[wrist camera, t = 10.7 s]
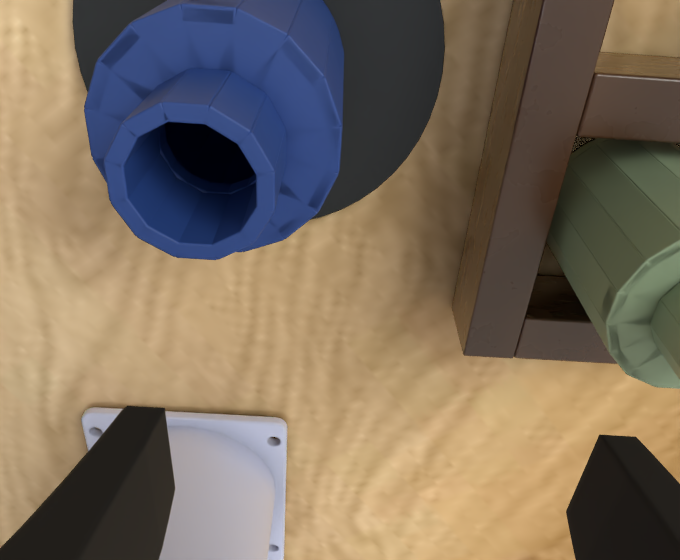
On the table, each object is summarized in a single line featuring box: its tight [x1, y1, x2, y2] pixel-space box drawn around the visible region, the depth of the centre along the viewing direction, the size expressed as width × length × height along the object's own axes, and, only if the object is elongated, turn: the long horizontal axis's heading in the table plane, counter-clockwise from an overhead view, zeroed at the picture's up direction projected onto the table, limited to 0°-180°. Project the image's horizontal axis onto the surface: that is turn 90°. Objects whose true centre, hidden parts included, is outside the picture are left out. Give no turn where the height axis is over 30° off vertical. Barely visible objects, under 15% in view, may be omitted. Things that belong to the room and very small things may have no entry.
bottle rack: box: [452, 0, 680, 364], centre depth 16 cm, size 9×16×3 cm, turn 176°
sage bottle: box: [546, 138, 680, 389], centre depth 15 cm, size 5×5×8 cm
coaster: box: [73, 0, 445, 219], centre depth 17 cm, size 10×10×1 cm
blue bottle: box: [84, 0, 344, 260], centre depth 13 cm, size 5×5×8 cm
